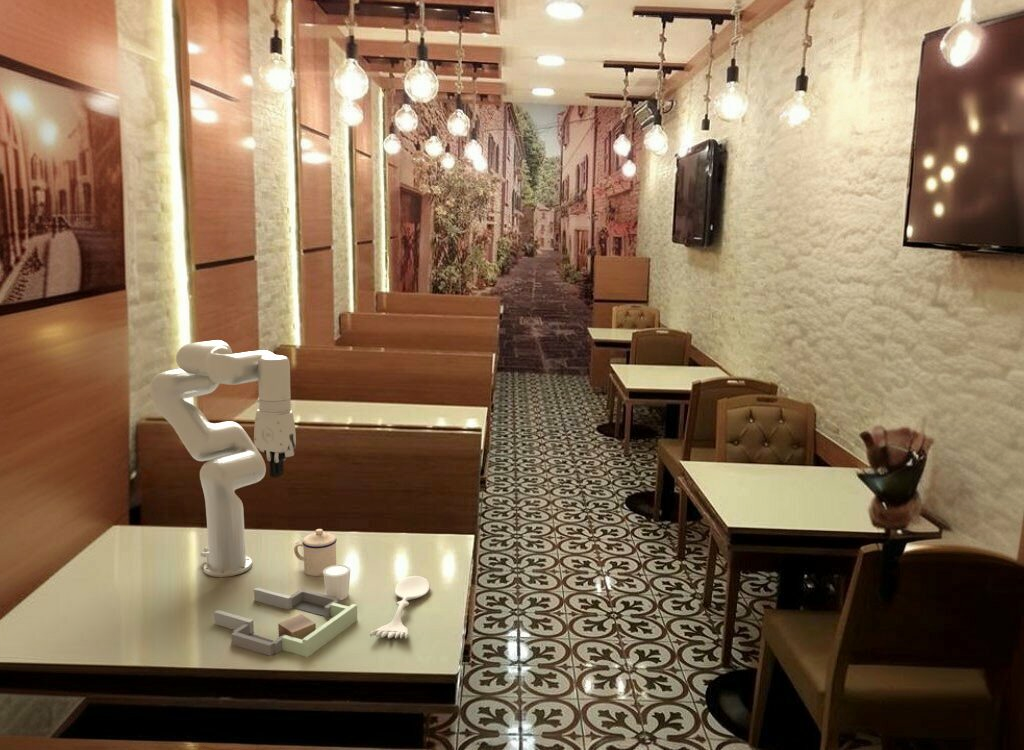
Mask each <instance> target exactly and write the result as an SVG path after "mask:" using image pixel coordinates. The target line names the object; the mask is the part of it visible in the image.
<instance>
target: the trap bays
mask: <svg viewBox="0 0 1024 750" xmlns="http://www.w3.org/2000/svg"><path fill="white" fill-rule="evenodd" d="M290 596H292V608H291V609H294V610H295V609H296V610H300V611H302V612H307V613H310V614H314V615H318V616H322V617H324V618H330V617H332V616H331V612H330V604H332V603H337V604H340V601H341V600H340V599H339V598H336V597H332V596H328V595H326V594H325V593H324V594H323V593H320V592H317V591H311V590H307V589H302V590H298V591H295V592H294V593H293V594H290ZM283 636H285V634H283V635H282V636H280V637H279V636H278V637H277V638H276V639H274V640H273V639H270V638H266V637H262V636H260V635H256V634H254V633H251V634H250V624H247V623H245V624H244V625H242V626H240V627H239V628H237V629H235V630H234V629H233V630H232V633H231V634H230V638H231V639H230V640H231V645H232V646H236V647H238V648H239V647H240V648H243V649H246V650H249V651H253V652H255V653H259V654H263V655H265V656H269V657H270V656H271V657H272V655H274V654H275V655H277V654H279V653H280V652H282V651H283V650H282V637H283Z"/></svg>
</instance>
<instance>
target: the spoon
mask: <svg viewBox="0 0 1024 750" xmlns="http://www.w3.org/2000/svg"><path fill="white" fill-rule="evenodd" d="M430 588H431V583H430V581H429V580H428V579H427V578H426V577H423V576H419V575H412V576H411V575H410V576H407V577H404V578H402V579H401V580H399V581H398V582H397V584H396V585H395V587H394V592H393V593H394V595H396V596H397V597H398V598H399V599H401V600H399V601H397V602H396V606H398V607H397V610H396V612H395V614H394V617H393V618H392V620H391V622H389V623H387V624H385V625H381V626H380V627H378V628H376V629H375V630H372V631H370V632H369V637H371V638H372V637H373V636H375V637H376V638H377V637H378V638H379V637H381V638H384V637H387V638H388V639H391V638H393V637H394V639H397V638H399V639H402V638H404V639H407V638H408V636H409V629H408V627H406V626H405V625H404V624H403V622H402V614H403V610H404V608H405V607H407V606H409V604H410V602H409V601H411V600H414V599H419V598H421V597H423V596H425V595H426V594H427V593H428V592H429V591H430Z"/></svg>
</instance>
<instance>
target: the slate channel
mask: <svg viewBox="0 0 1024 750" xmlns="http://www.w3.org/2000/svg"><path fill="white" fill-rule="evenodd" d="M253 598H254V600H253V601H256V602H260V603H262V604H265V605H269V606H274V607H276V608H282V609H286V610H291V609H293V608H292V596H291V595H288V594H284V593H279V592H276V591H272V590H269V589H264V588H260V587H256V588H254V589H253ZM330 612H331V616H330V617H331V618H330V619H329V620H328V621H326V622H325V623H323V624H322V625H320V626H319V627H317V628H316V630H315V631H313V632H312V633H311V634H309V635H308V636H306V637H305V638H303V639H302V640H301V639H298V638H294V637H291V636H288V635H285V636H283V637H282V650H281V651H286V652H289V653H293V654H296V655H299V656H301V657H306V658H308V657H309V656H311V655H313V654H314V653H315V652H316V651H318V650H319V649H321V648H323V646H324V645H326V644H328V643H329V642H330V641H332V640H333V639H334V638H335V637H337V636H338V635H340V634H341V633H342V632H343V631H345V630H346V629H348V628H349V627H350V626H351V625H352V624H355V623H356V622H357V621H358V605H357V604H356V603H355V604H354V603H352V604H350V605H349V606H348V605H344V604H337V603H332V604H330ZM213 618H214V620H213V621H214V625H218V626H222V627H225V628H228V629H231V630H233V631H234V630H235V629H237V628H239V627H240V626H242V625H244V624H245V623H247V624H250V634H254V631H255V629H254V628H255V627H254V619H252V618H247V617H244V616H241V615H237V614H234V613H230V612H227V611H223V610H219V609H217V610H215V611H214V612H213Z"/></svg>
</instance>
